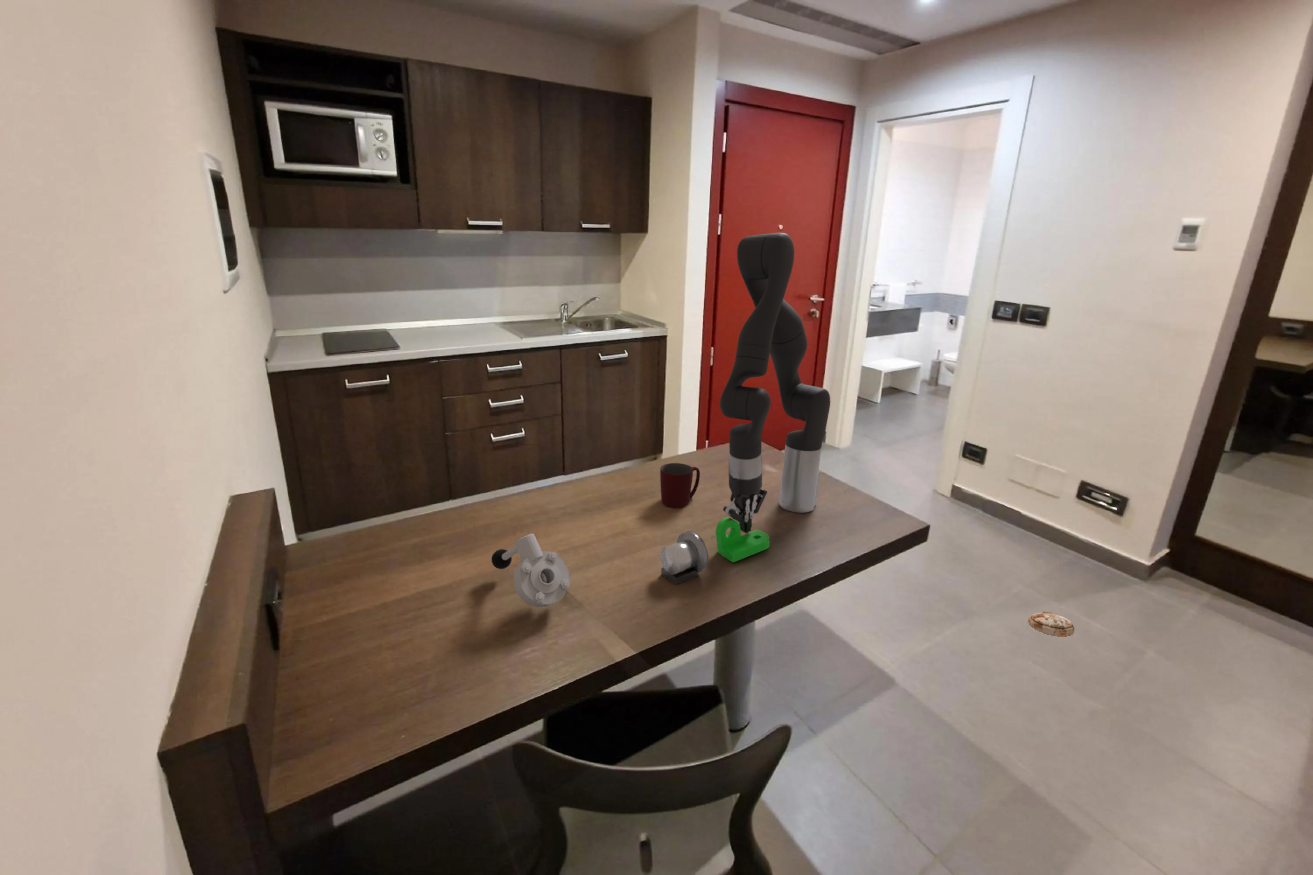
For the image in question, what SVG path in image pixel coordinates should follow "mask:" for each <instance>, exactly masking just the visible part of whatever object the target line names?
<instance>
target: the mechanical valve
mask: <svg viewBox="0 0 1313 875" xmlns="http://www.w3.org/2000/svg"><path fill="white" fill-rule="evenodd" d="M516 554H518V555H519V558H520V559H521V561H520V562H519V563H518V565H517V566H516V568H515V570H514V572H513V585H514V590H515V592H516V594H517V596H519V599H521V601H523V602H524V603H526V604H527V606H528V607H535V608H544V607H547V606H550V605H553V604H554V603H557V602H558V601H560V600H561V599H562V598H563V597H564V596H565V595H566V593H567V591H568V589H569V587H570V586H571V583H570V572H569V568H568V566H567V565H566V563H565V561H564V560H563V559H562V558H561V557H560V556H559V555H558V554H557V553H556V552H555V551H548V550H542V548H541V547H540V544H539V542H538V539H537V538H536V536H535V533H529V534H527V535H525V536H523V537H520V538H518V539H517V540H515V541H514V545H513V547H511V548H510V549H508V550H507V549H503V548H500V549H498V550H496V551H494V552H493V554H492V555H491V563H492V566H494V568H496V569H498V570H503V569H507V568H508V567H509V566H510V565H511V563H512V559H513V558H512V557H513V556H514V555H516Z"/></svg>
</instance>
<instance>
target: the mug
mask: <svg viewBox="0 0 1313 875" xmlns="http://www.w3.org/2000/svg"><path fill="white" fill-rule="evenodd" d="M659 468H660V472H659V474H660V475H659V477H660V481H659V482H660V495H661V496H660V498H661V500H660V501H661V502H660V503H661V505H663V506H664V507H666V508H670V509H682V508H685V507H688V505H689V504H690V499H692V498H693V496H695V494H696V491H697V489H698V486H699V484H700V478H701V472H700V469H699V467H697V466H690V465H688V464H685V463H677V462H672V463H666V464H663V465H661V466H660V467H659ZM694 471H696V472H695V473H696V474H695V482H694V485H692V484H693V477H694V476H693V475H694ZM692 486H693V488H692Z"/></svg>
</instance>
